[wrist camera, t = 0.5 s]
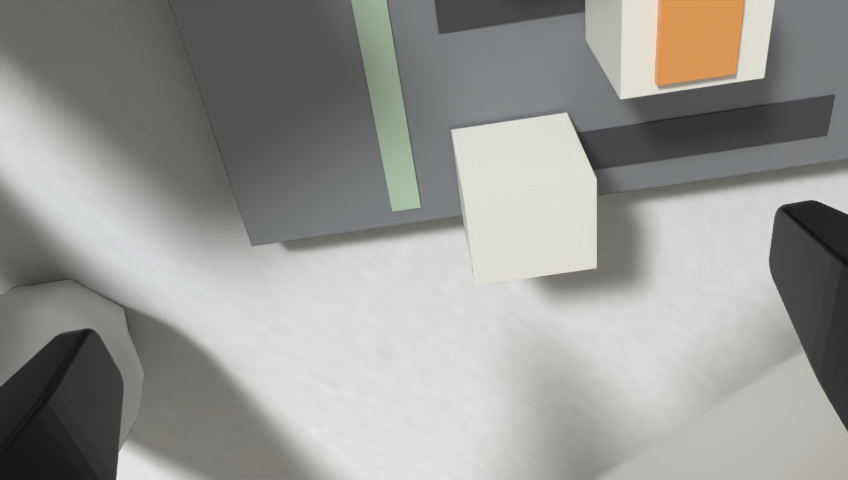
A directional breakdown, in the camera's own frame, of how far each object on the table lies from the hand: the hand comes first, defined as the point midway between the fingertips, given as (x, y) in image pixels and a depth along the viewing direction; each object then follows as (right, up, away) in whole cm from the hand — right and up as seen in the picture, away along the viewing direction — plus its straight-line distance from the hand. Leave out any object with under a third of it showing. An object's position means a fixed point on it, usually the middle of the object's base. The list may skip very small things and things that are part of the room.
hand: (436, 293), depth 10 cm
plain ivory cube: (+2, +3, +11) cm, 12 cm away
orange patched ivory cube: (+5, +7, +8) cm, 12 cm away
